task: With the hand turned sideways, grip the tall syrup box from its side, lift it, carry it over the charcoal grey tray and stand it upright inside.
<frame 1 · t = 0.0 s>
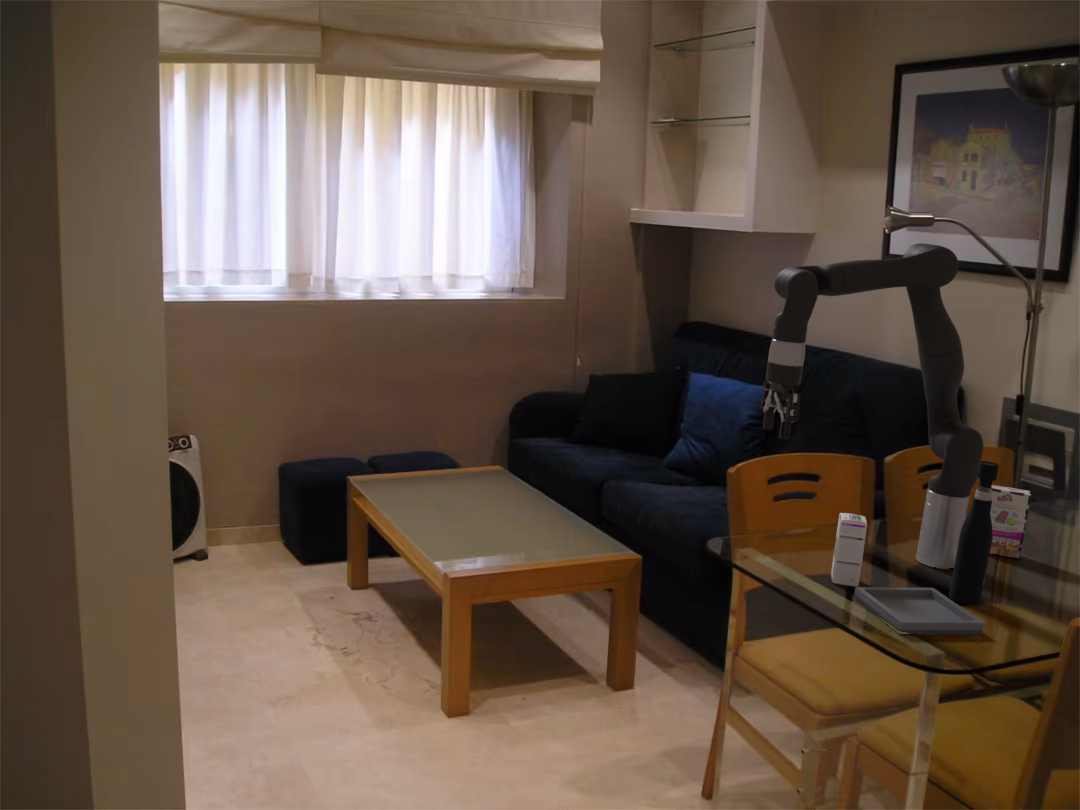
hand: (775, 434, 240), 29 cm above the table, tool pointing down, fingers open, 8 cm apart
tray: (916, 616, 221), on the table
candy bar box: (994, 553, 268), on the table
syrup box: (843, 581, 238), on the table
dark water bottle: (964, 600, 234), on the table
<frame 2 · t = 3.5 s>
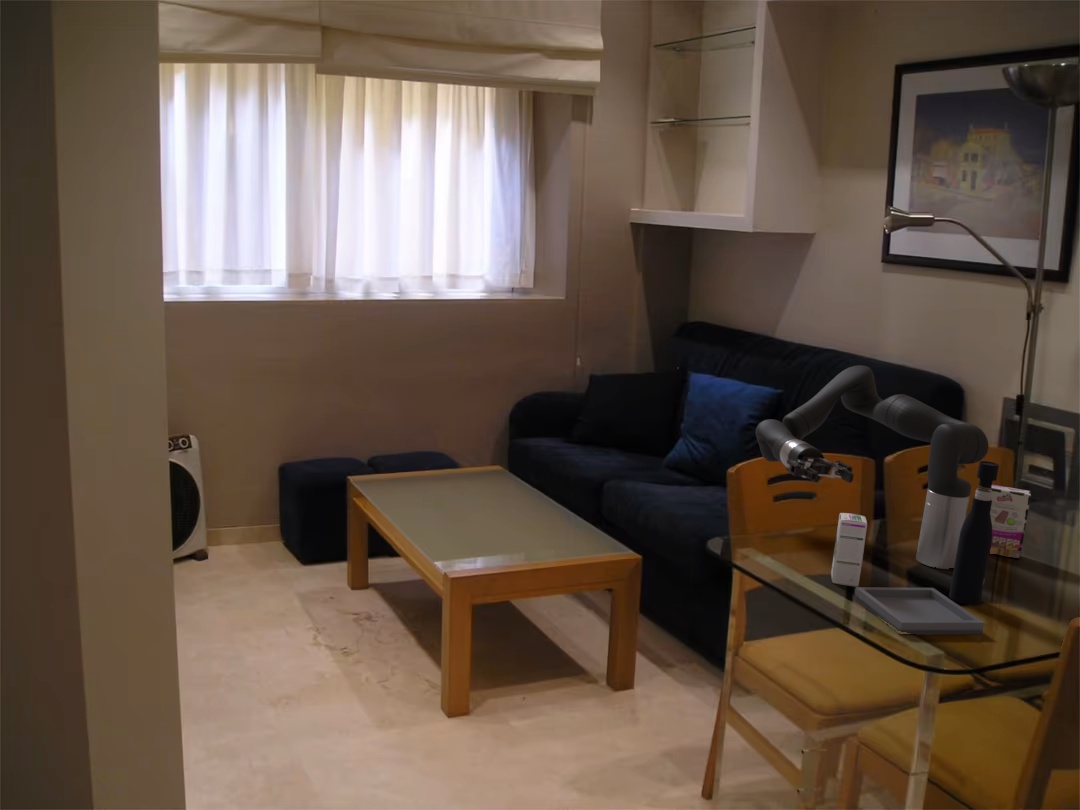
hand: (833, 477, 244), 20 cm above the table, tool horizontal, fingers open, 8 cm apart
nothing on the table moved.
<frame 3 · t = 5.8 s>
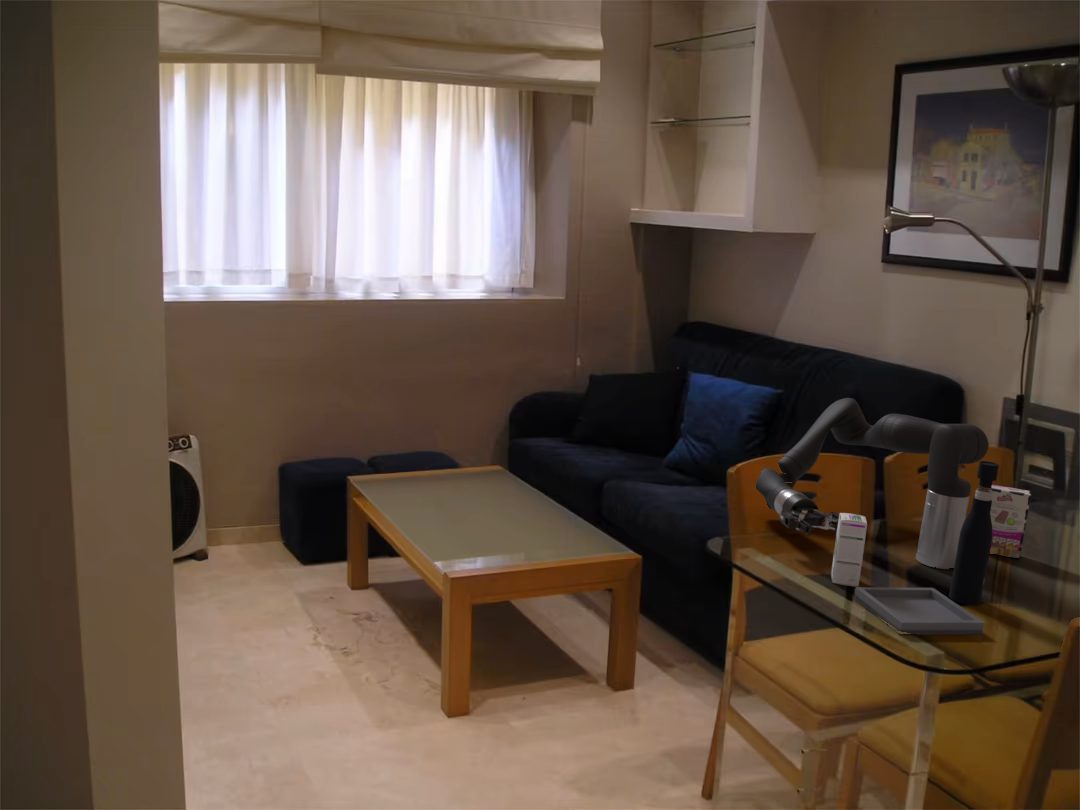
hand: (827, 530, 246), 8 cm above the table, tool horizontal, fingers open, 8 cm apart
nothing on the table moved.
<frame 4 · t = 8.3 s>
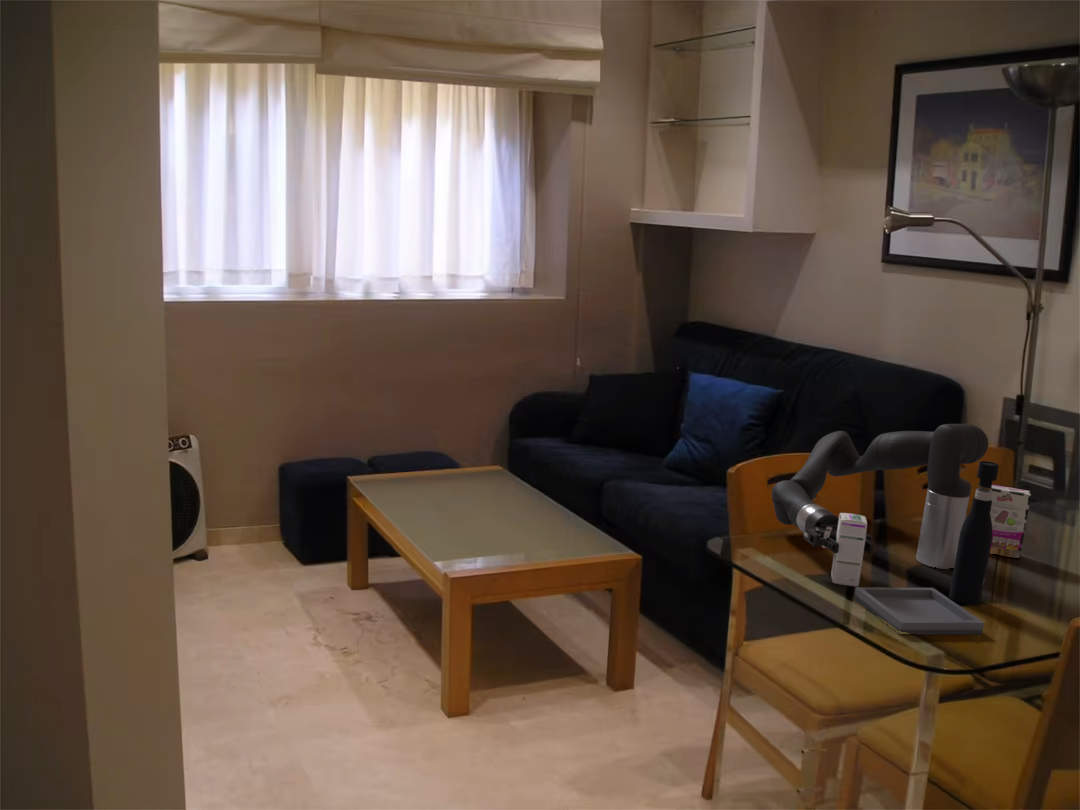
hand: (853, 549, 234), 8 cm above the table, tool horizontal, fingers closed on syrup box, 7 cm apart
syrup box: (843, 581, 238), on the table, touching gripper
everything else where it was.
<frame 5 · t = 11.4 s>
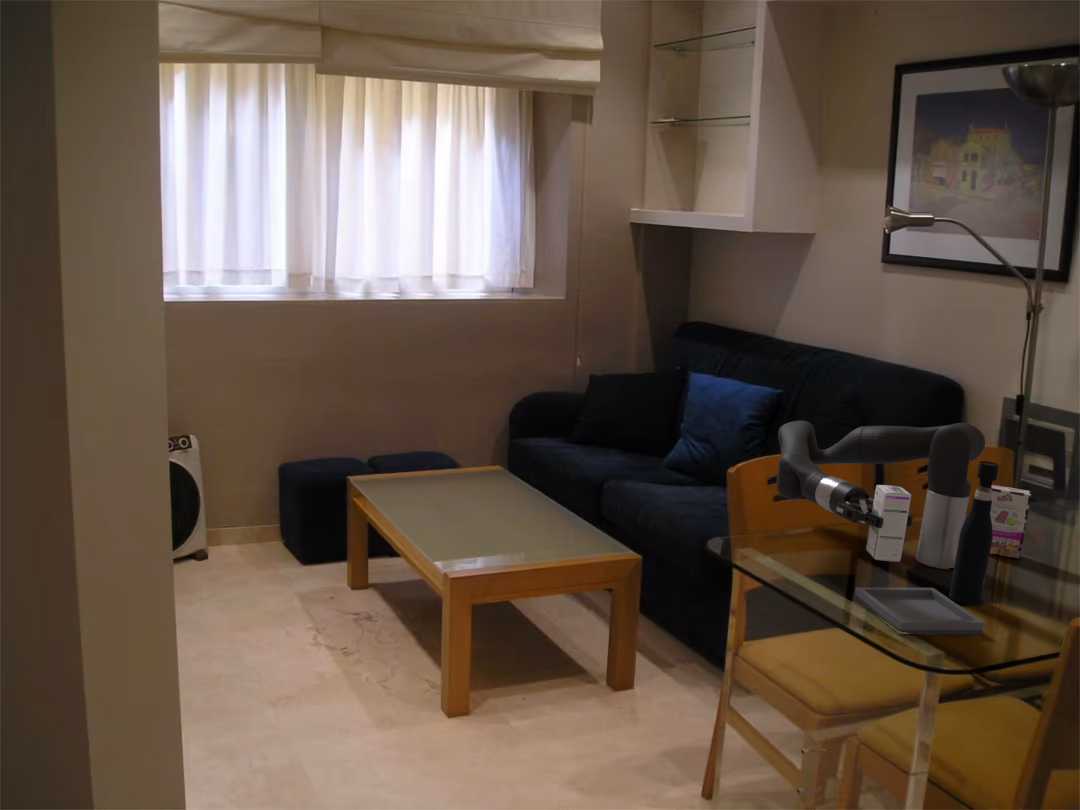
hand: (896, 522, 222), 18 cm above the table, tool horizontal, fingers closed on syrup box, 7 cm apart
syrup box: (882, 557, 226), point 9 cm above the table, touching gripper
everything else where it was.
when the fingers open (10 cm above the table, at t = 14.7 s): syrup box drops 1 cm, resting on tray.
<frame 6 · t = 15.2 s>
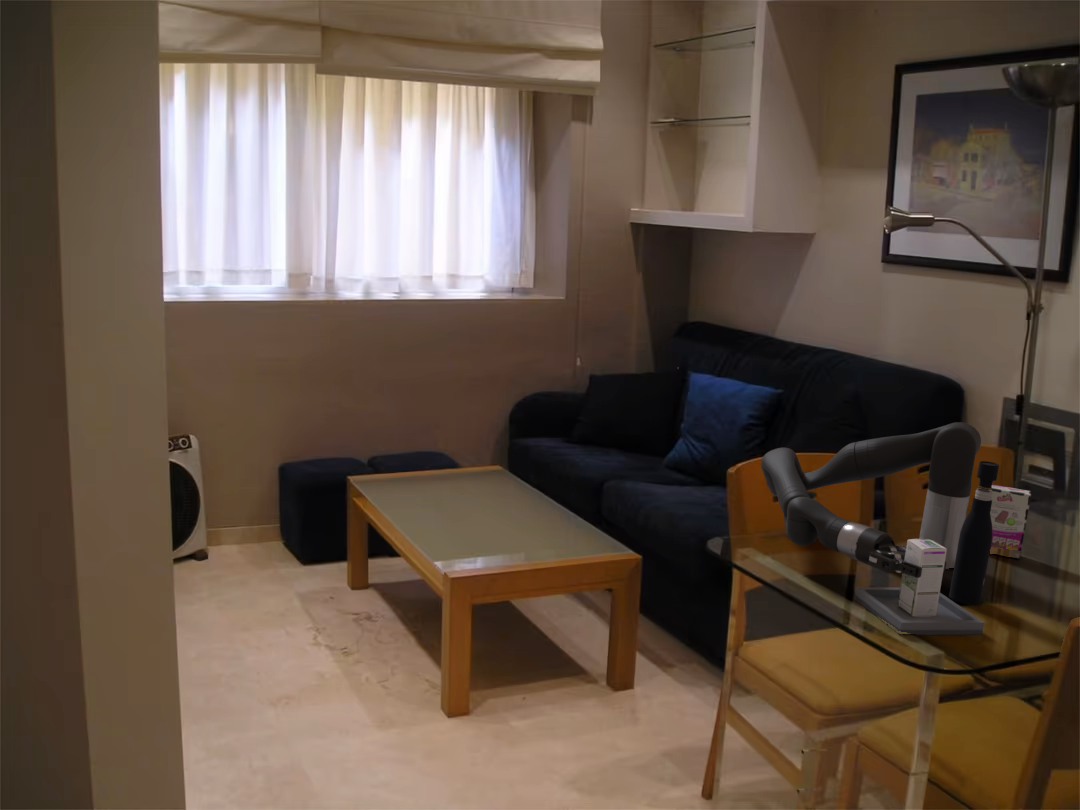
hand: (932, 570, 218), 10 cm above the table, tool horizontal, fingers open, 8 cm apart
syrup box: (915, 612, 221), point 1 cm above the table, touching tray
everything else where it was.
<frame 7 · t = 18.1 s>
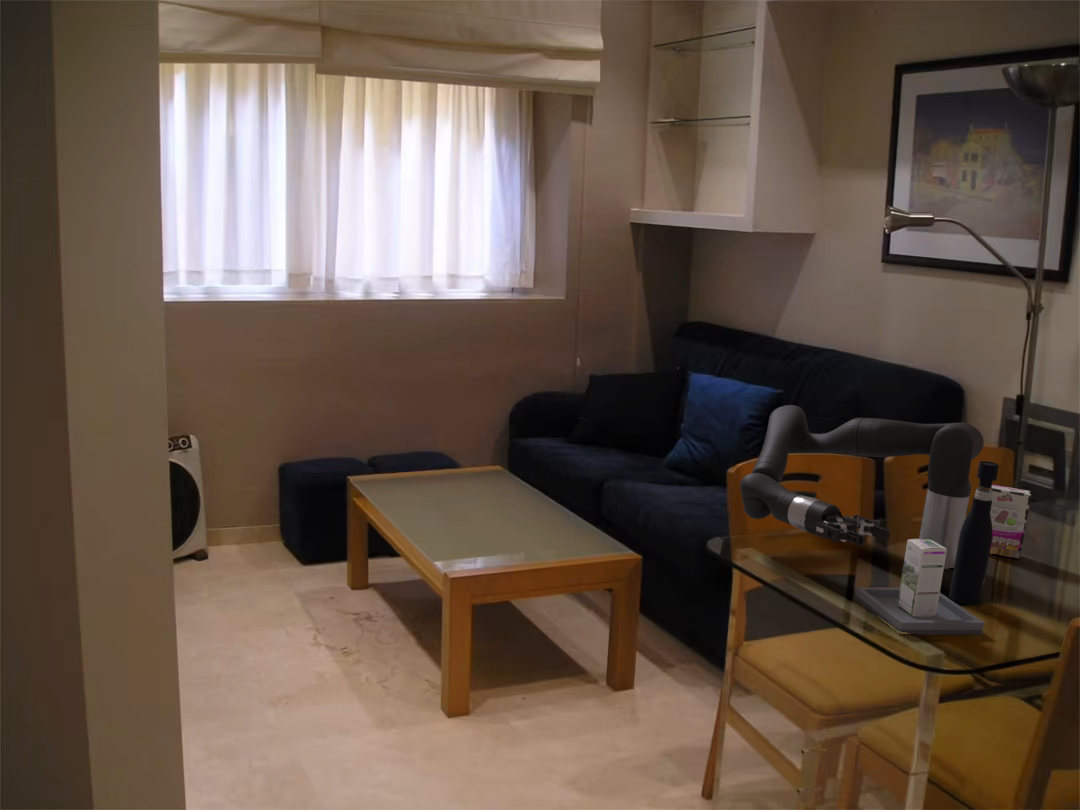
hand: (876, 538, 228), 13 cm above the table, tool horizontal, fingers open, 8 cm apart
nothing on the table moved.
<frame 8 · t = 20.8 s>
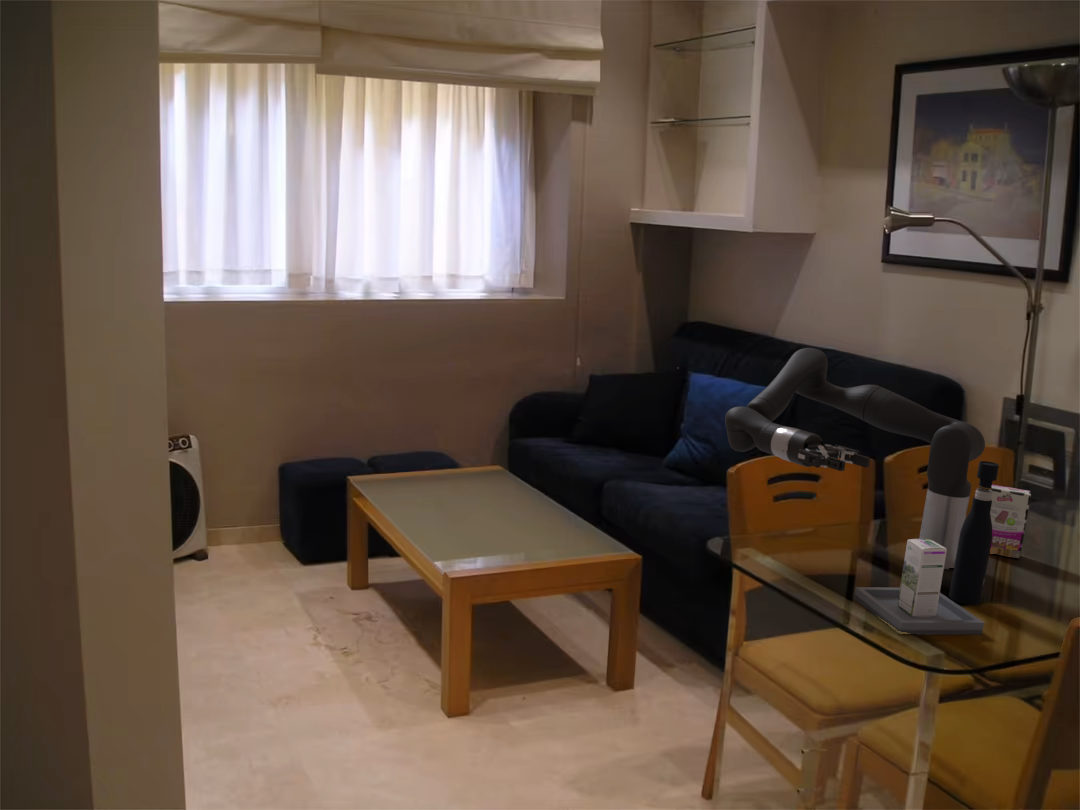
hand: (856, 464, 233), 26 cm above the table, tool horizontal, fingers open, 8 cm apart
nothing on the table moved.
at the end: syrup box inside the target area on the tray (0.2 cm from its centre), point 0.8 cm above the tray's base; syrup box tilted 0°; the gripper is holding nothing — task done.
